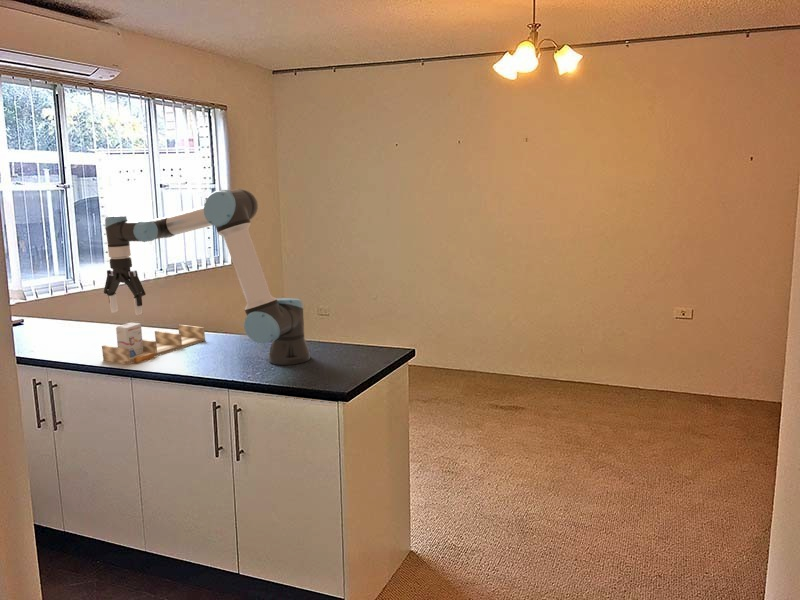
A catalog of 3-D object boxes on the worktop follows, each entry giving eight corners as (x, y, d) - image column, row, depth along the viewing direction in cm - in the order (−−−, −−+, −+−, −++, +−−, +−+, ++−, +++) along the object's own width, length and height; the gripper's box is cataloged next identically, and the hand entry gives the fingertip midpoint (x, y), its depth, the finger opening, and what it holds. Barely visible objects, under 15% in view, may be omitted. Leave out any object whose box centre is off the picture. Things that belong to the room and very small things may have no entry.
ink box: (129, 358, 252) (125, 327, 250) (118, 357, 254) (114, 326, 252) (144, 352, 260) (141, 322, 258) (133, 351, 262) (130, 321, 260)
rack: (208, 341, 280) (206, 327, 279) (131, 365, 247) (129, 350, 246) (181, 337, 288) (180, 324, 287) (103, 360, 255) (101, 345, 254)
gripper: (151, 257, 247) (157, 313, 251) (106, 255, 259) (113, 309, 263) (134, 259, 241) (141, 317, 245) (89, 257, 253) (96, 313, 257)
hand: (126, 313), depth 254 cm, fingers open, 13 cm apart
